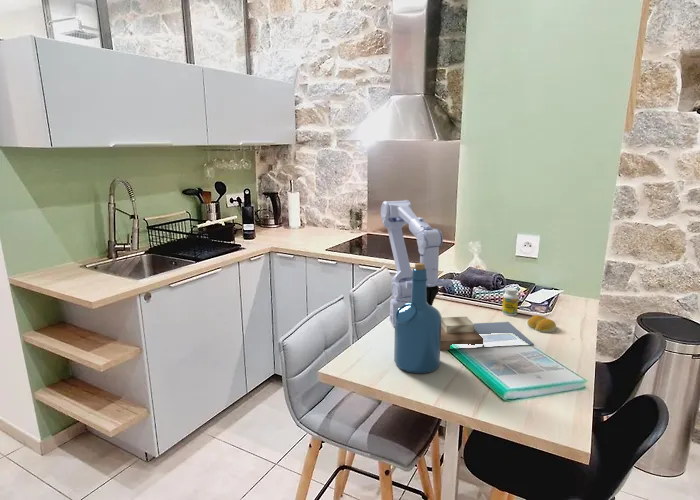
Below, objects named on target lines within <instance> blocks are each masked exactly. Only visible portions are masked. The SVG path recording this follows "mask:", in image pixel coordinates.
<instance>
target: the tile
mask: <svg viewBox="0 0 700 500" xmlns="http://www.w3.org/2000/svg"><path fill="white" fill-rule="evenodd" d="M473 323H474V322H472V321H471V319H469V318H468V316H449V317H448V316H447V317H442V320H441V327H442V328H443V329H444V331H445V332H446V333H462V332H474V324H473Z"/></svg>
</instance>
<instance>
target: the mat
mask: <svg viewBox="0 0 700 500" xmlns="http://www.w3.org/2000/svg"><path fill="white" fill-rule="evenodd" d="M472 323H473V324H474V329H475V330H476V331H477V333H478V334H491V333H513V334H515V335H516V336H518V337H519V338H520V339H522V340H523V341H525V342H526V343H528V344H530V345H529V346H534V344H535V343H534V342H532V340H530V339H529V338H528V337H527V336H525V335H524V334H523V333H522V332H521V331H519V330H518V328H516V327H515V326H514V325H513V324H512V323H510V322H509V321H499V322H494V321H493V322H480V323H479V322H478V323H475V322H472Z"/></svg>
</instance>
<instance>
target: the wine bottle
mask: <svg viewBox="0 0 700 500" xmlns="http://www.w3.org/2000/svg"><path fill="white" fill-rule="evenodd" d="M412 271H413V273H412V279H411V280H412V292H411V302H410V303H407V304H405V305H403V306H401V307H400V308H399V309H398V310H397V312H396V316H395V327H394V350H393V351H394V354H393V355H394V356H393V357H394V359H393V360H394V363H395V365H396V366H397V367H398V368H399V369H400V370H403V371H405V372H408V373H410V374H411V373H412V374H425V373H426V374H427V373H433V372H434V371H436V370H437V369H438V368H439V366H440V363H441V350H440V344H441V320H442V318H443V317H442V314H441V312H440V311H439V309H437V308H436V307H434V306H433V304H432V305H430V304H428V303H427V285H426V281H427V271H426V268H425V265H424V264H423V263H420V262H415V263H414V267H412Z"/></svg>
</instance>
